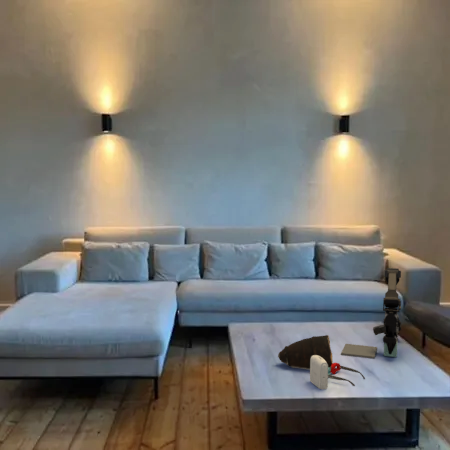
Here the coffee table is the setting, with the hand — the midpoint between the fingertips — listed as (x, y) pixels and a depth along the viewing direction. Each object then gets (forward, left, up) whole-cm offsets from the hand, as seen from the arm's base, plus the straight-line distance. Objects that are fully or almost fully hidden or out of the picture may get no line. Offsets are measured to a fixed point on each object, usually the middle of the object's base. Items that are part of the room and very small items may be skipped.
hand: (390, 352), depth 258 cm
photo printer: (+50, -26, -2) cm, 56 cm away
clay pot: (+30, -36, -2) cm, 47 cm away
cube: (0, 0, -1) cm, 1 cm away
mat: (0, -15, -2) cm, 15 cm away
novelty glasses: (+39, -17, -2) cm, 43 cm away
